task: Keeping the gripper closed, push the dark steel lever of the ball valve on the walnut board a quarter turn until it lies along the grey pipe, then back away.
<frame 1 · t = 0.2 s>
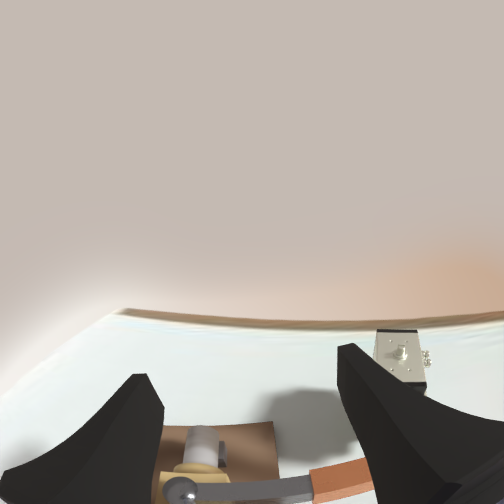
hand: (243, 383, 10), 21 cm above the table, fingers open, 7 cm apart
valve lever: (273, 493, 14), point 9 cm above the table, hinge at 0.0°
pneumatic valve: (384, 424, 26), on the table
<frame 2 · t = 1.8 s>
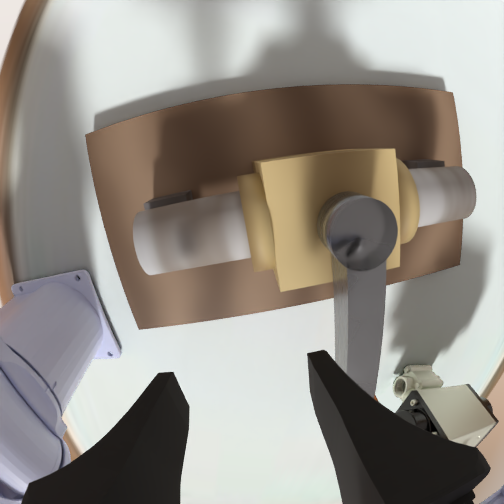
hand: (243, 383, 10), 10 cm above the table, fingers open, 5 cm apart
valve lever: (356, 360, 12), point 8 cm above the table, hinge at 0.0°
pneumatic valve: (408, 377, 25), on the table
ball valve: (304, 196, 18), on the table
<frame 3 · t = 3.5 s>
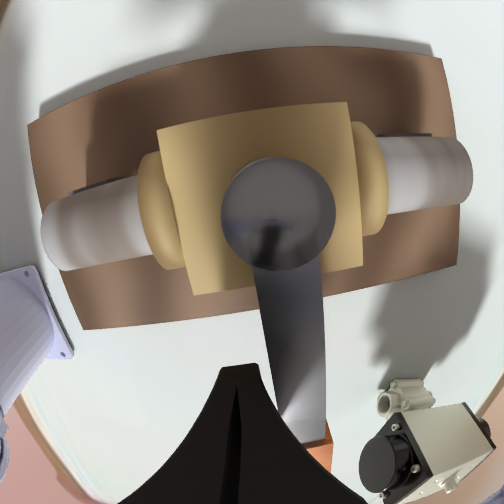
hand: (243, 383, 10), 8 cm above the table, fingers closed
valve lever: (297, 389, 9), point 8 cm above the table, hinge at 0.0°, touching gripper
pneumatic valve: (395, 392, 22), on the table
ball valve: (255, 180, 15), on the table
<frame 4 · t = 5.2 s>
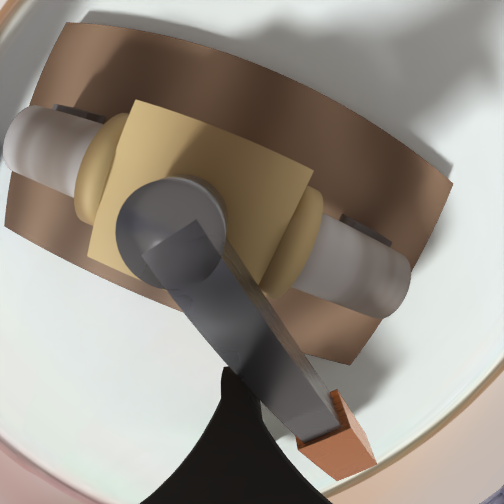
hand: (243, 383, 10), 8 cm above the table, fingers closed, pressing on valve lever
valve lever: (290, 384, 9), point 8 cm above the table, hinge at 54.7°, touching gripper
ball valve: (210, 188, 15), on the table
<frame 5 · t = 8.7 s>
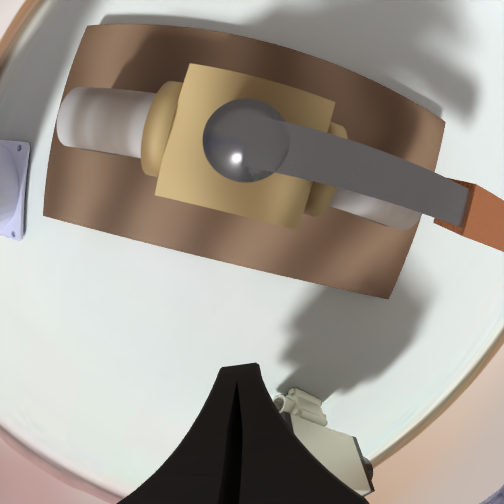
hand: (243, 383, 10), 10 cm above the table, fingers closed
valve lever: (409, 186, 10), point 8 cm above the table, hinge at 93.7°
pneumatic valve: (291, 402, 24), on the table
ball valve: (242, 148, 17), on the table
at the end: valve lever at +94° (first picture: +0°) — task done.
